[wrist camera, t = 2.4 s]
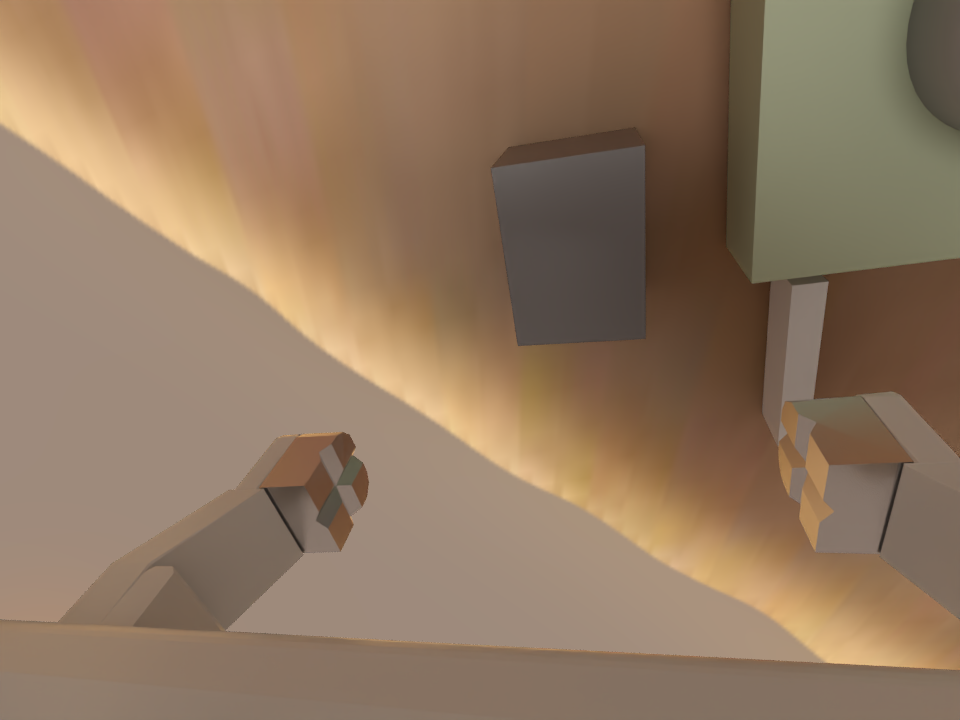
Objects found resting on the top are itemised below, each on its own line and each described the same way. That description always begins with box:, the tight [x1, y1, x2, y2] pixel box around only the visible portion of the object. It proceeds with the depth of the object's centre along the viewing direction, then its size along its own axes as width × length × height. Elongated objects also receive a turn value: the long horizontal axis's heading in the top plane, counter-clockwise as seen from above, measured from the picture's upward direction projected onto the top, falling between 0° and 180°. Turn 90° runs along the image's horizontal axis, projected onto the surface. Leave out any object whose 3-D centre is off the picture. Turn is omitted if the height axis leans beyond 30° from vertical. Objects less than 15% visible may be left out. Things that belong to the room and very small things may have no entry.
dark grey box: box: [491, 127, 646, 346], centre depth 20 cm, size 5×7×4 cm
